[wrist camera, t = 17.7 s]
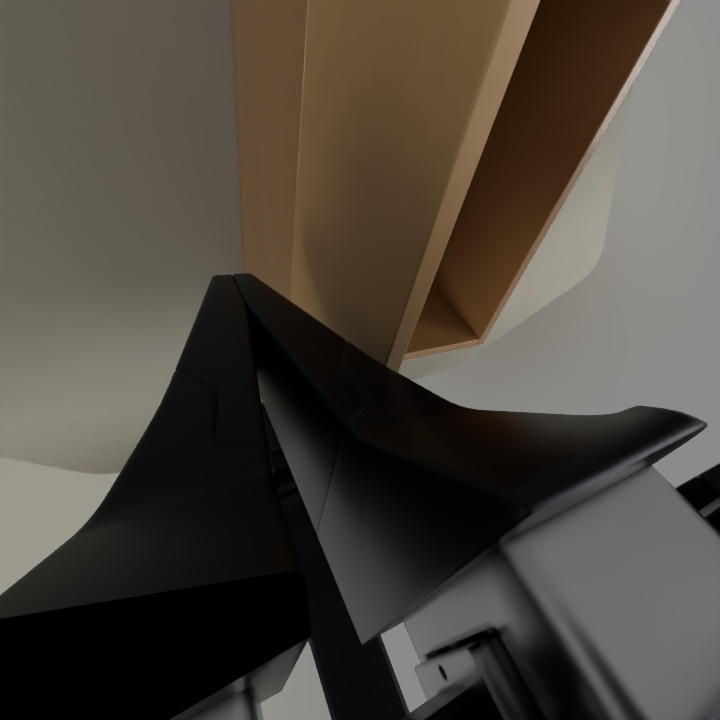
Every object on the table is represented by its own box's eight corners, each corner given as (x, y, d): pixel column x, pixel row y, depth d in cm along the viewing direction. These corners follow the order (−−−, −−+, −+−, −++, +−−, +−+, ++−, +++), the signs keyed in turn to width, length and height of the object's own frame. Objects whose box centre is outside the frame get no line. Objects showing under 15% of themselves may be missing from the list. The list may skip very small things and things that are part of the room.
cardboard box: (411, 267, 26) (482, 344, 21) (243, 280, 21) (284, 385, 16) (507, -30, 16) (691, -17, 11) (223, -140, 11) (319, -209, 6)
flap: (341, 522, 12) (330, 526, 12) (293, 394, 16) (284, 396, 16) (723, -471, 2) (685, -525, 2) (346, -209, 6) (321, -222, 5)
